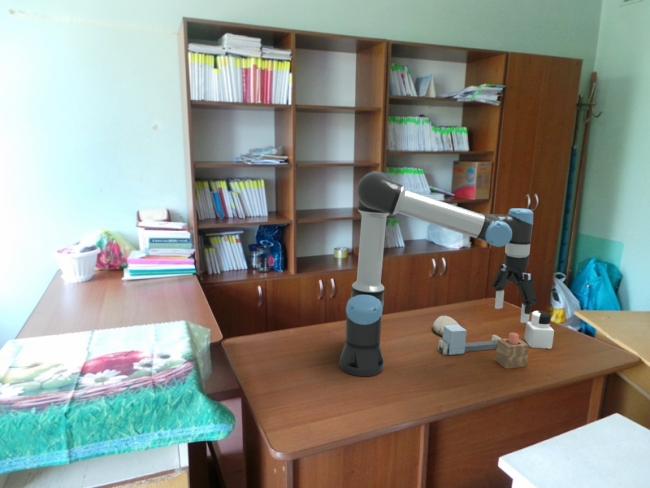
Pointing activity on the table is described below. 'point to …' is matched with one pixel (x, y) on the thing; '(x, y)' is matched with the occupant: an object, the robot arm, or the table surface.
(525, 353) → the wooden box
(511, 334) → the plunger
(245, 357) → the table surface
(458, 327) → the carriage
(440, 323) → the stone
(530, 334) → the container
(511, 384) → the table surface
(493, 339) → the rail
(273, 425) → the table surface
